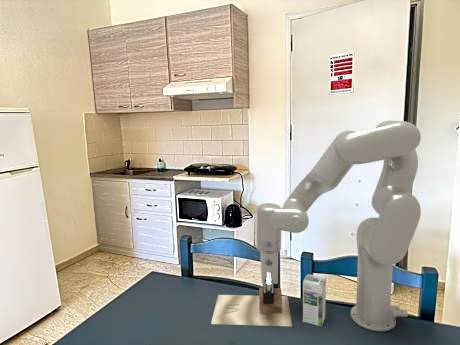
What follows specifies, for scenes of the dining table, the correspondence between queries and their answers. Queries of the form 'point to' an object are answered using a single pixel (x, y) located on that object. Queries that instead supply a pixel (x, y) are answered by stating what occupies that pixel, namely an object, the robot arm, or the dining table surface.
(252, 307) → the board
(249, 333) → the dining table surface
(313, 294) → the syrup box
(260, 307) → the block
